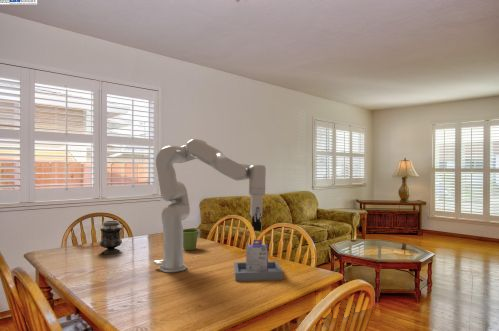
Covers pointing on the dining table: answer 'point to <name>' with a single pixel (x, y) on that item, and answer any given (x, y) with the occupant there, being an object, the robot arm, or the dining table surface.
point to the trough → (258, 272)
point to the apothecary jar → (110, 236)
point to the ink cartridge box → (256, 257)
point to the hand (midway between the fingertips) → (256, 228)
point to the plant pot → (190, 238)
